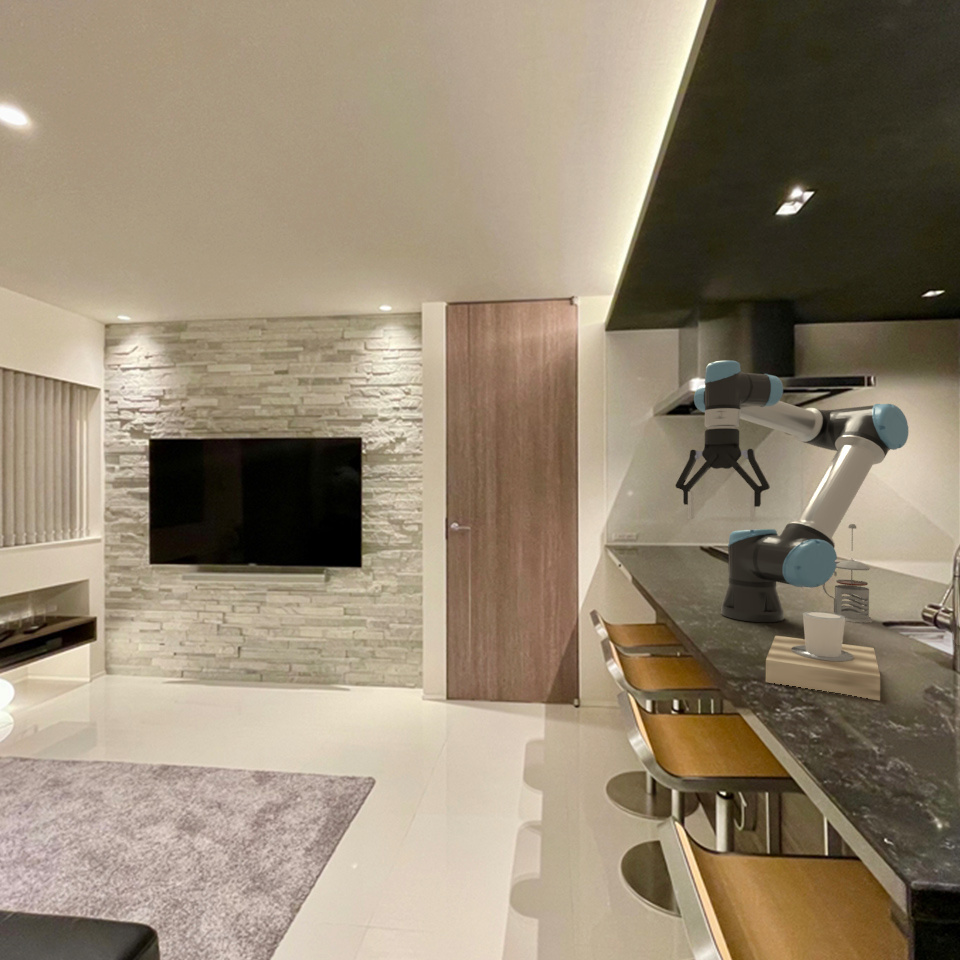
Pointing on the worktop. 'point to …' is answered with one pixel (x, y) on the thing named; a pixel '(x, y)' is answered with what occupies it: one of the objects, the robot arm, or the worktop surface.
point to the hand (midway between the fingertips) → (720, 520)
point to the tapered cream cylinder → (823, 633)
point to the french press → (851, 592)
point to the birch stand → (824, 668)
